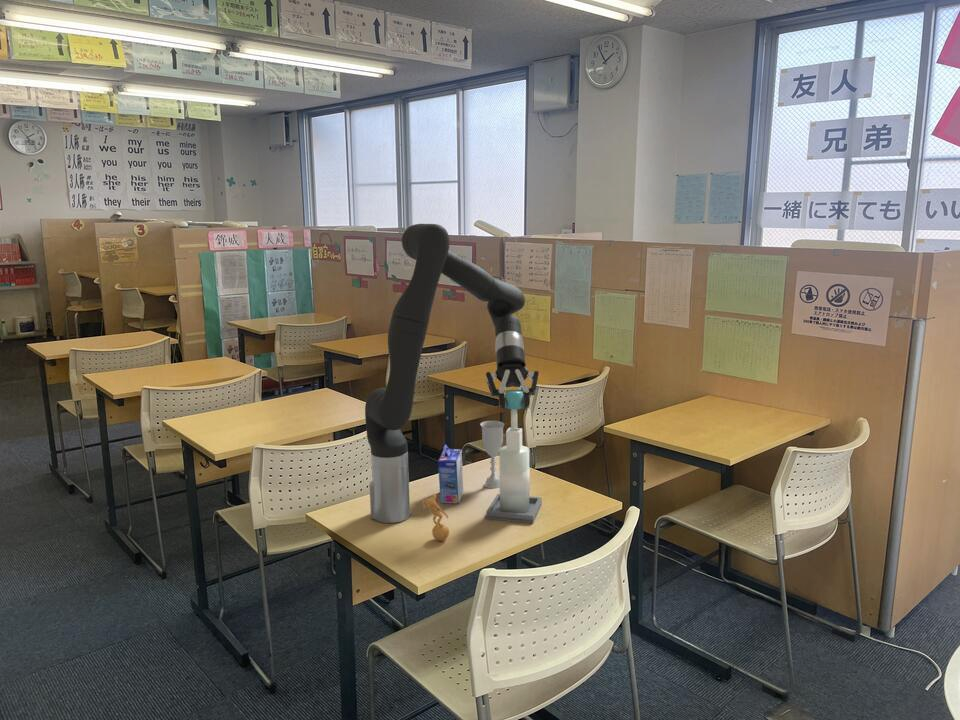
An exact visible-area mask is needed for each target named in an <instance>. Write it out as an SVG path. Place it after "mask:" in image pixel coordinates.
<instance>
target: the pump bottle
mask: <svg viewBox="0 0 960 720" xmlns="http://www.w3.org/2000/svg"><path fill="white" fill-rule="evenodd" d="M505 434H506V435H505V437H506V438H505V439H506V440H505V441H506V443H505V445H504V446H501V448H500V449H499V453H498V454H499V467H498V468H499V469H498V470H499V473H498V474H499V476H498V477H499V480H500V487H499V493H497V494H496V495H495V497H494V499H493V500H492V502H491V503H490V505H489V506H488V508H487V510H486V512H485V513H486V514H485V515H486V517H485V518H486V519H487V520H496V521H505V522H506V521H507V522H515V523H516V522H517V523H527V524H534V523H535V520H536V518H537V516H538V513H539V511H540V509H541V507H542V504H543V503H542V497H539V496H530V481H531V479H530V477H531V476H530V475H531V473H530V470H531V469H530V448H529V447H527V446H525V445H523V428H519V427H517V429H516V430H512V429H511V427H508V428H507V430H506V431H505Z"/></svg>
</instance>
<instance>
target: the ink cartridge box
mask: <svg viewBox="0 0 960 720" xmlns="http://www.w3.org/2000/svg"><path fill="white" fill-rule="evenodd" d="M442 449H443V450H442V452H441V454H440V456H439V458H438V461H437V465H438V479H439V481H438V483H439V485H438V486H439V496H440V499H439V500H440V503H441V504H460V502H461V500H462V499H461V498H462V495H463V493H464V474H463V455H462V453H463V452H462V451H463V450H462V449H461V448H449V446H448V445H447V444H444V446H443V448H442Z"/></svg>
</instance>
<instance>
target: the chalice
mask: <svg viewBox="0 0 960 720" xmlns="http://www.w3.org/2000/svg"><path fill="white" fill-rule="evenodd" d="M479 424H480V427H481V432H482V433H481V434H482V435H481V436H482V438H481V439H482V440H481V441H482V443H483V447H484V449H485V451H486V454H487V455H488V456H490V461H489V464H490V465H491V466H490V468H489V469H490V471H491V474H490V475H489V476H488V477H487V478H486V480H485V483H484V487H485V486H486V488H489V489H499V488H500V476H498V475H496V473H495V471H496V470H497V468H496V467H495V466H496V461H495V458H496V456H498V454H499V449H500V448H501V447H503V446H502V445H503V442H504V427H505V424H506V423H505V422H502V421H499V420H486V421H485V420H484V421H482V422H480V423H479Z"/></svg>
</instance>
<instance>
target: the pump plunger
mask: <svg viewBox="0 0 960 720" xmlns="http://www.w3.org/2000/svg"><path fill="white" fill-rule="evenodd" d="M504 395H505V409H509V410H510V428H511V429H512V430H516V429H517V428H518V410H520V409H524V405H523V391H522V390H520V389H507V390H505V392H504Z"/></svg>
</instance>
